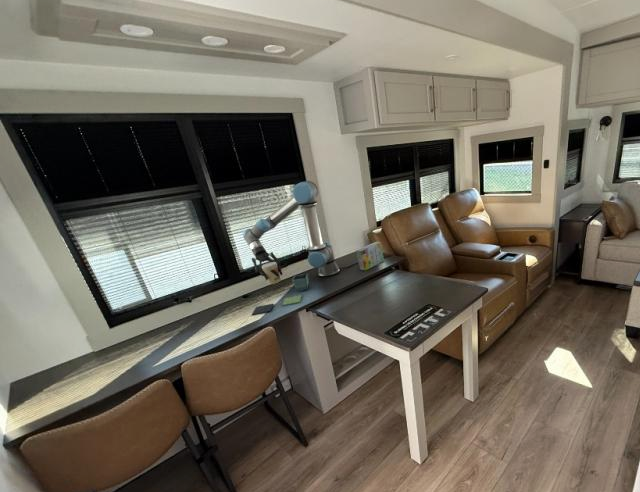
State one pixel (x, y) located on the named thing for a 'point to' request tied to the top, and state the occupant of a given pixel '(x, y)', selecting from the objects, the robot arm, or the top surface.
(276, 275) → the coffee cup
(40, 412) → the top surface
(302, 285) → the flower pot
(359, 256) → the snack box
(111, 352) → the top surface
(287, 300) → the sage mat
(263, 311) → the slate mat
